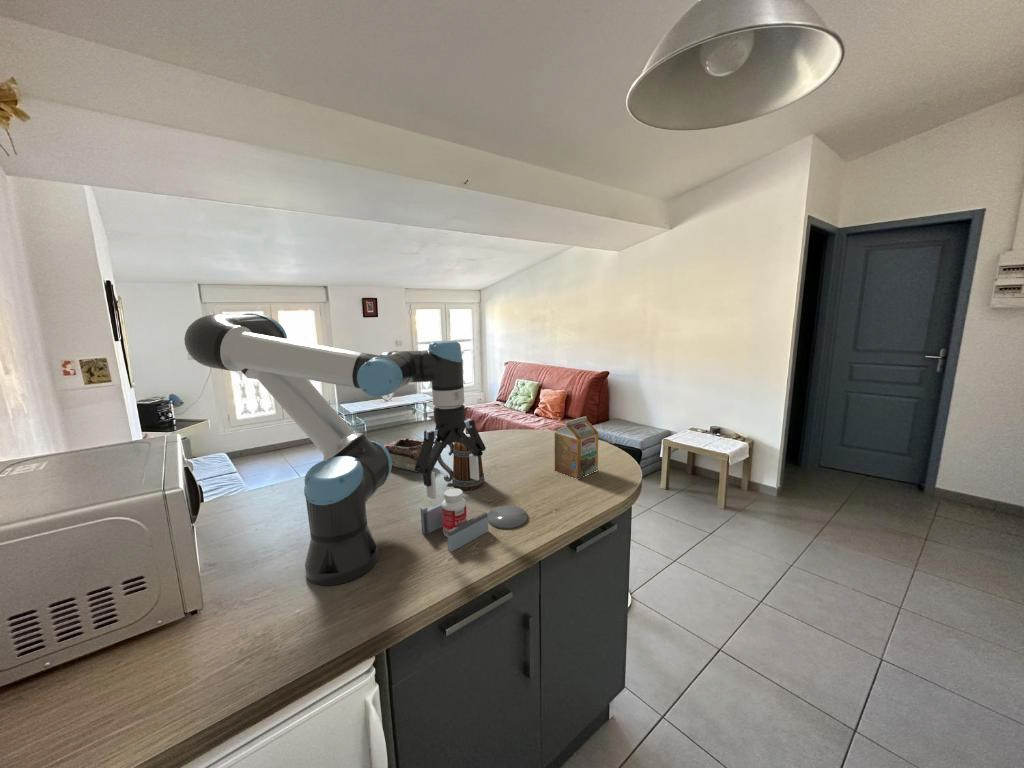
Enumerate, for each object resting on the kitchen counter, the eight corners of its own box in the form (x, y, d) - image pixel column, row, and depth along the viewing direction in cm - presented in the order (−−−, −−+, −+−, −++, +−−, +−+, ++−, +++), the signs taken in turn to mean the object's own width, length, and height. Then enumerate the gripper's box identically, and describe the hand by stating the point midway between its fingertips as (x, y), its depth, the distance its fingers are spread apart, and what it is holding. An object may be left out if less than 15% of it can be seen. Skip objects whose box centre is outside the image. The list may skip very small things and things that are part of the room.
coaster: (507, 533, 100) (507, 530, 100) (478, 518, 107) (478, 516, 107) (535, 516, 108) (535, 514, 107) (506, 504, 115) (506, 501, 115)
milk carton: (577, 480, 131) (577, 425, 127) (554, 470, 139) (554, 418, 135) (597, 471, 137) (598, 419, 134) (574, 463, 145) (575, 413, 142)
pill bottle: (457, 541, 97) (455, 499, 95) (438, 535, 100) (435, 494, 98) (472, 529, 102) (470, 489, 100) (453, 523, 105) (451, 485, 103)
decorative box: (408, 479, 134) (406, 452, 132) (371, 468, 145) (369, 442, 143) (436, 467, 144) (434, 442, 143) (400, 457, 156) (398, 433, 154)
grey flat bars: (451, 552, 92) (449, 524, 91) (422, 533, 101) (420, 508, 99) (488, 531, 101) (487, 505, 100) (458, 515, 109) (457, 492, 108)
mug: (486, 477, 134) (485, 435, 132) (481, 491, 124) (479, 445, 121) (442, 476, 136) (440, 434, 133) (433, 489, 126) (430, 445, 123)
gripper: (413, 418, 83) (420, 511, 87) (496, 398, 101) (500, 475, 105) (394, 413, 89) (402, 501, 92) (477, 394, 106) (481, 468, 110)
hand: (454, 487), depth 99 cm, fingers open, 13 cm apart
